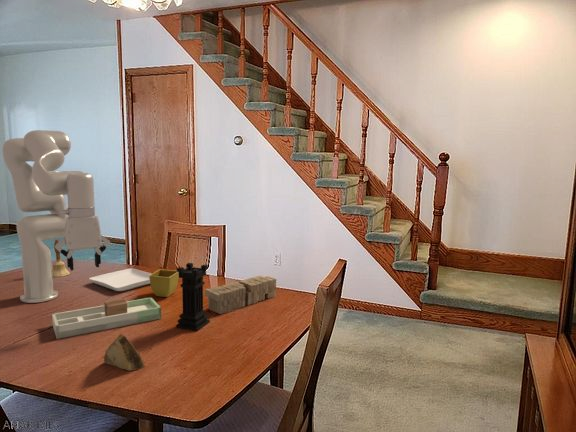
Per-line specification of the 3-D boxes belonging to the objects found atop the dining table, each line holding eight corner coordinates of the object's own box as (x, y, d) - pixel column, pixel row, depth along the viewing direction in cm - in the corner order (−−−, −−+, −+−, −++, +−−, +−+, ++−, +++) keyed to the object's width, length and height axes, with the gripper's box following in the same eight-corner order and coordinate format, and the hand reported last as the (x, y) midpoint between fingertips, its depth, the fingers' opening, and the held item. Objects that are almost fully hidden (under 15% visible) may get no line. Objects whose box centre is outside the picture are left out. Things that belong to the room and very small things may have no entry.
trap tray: (52, 325, 144) (51, 313, 143) (151, 307, 161) (151, 297, 160) (56, 339, 134) (56, 326, 133) (161, 318, 151) (161, 307, 151)
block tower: (262, 294, 182) (204, 310, 161) (263, 274, 181) (204, 287, 160) (276, 299, 176) (217, 316, 155) (276, 278, 175) (217, 292, 154)
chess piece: (209, 322, 149) (209, 264, 146) (197, 331, 142) (196, 271, 139) (189, 318, 152) (188, 262, 149) (176, 327, 145) (174, 268, 141)
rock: (91, 356, 119) (103, 366, 111) (109, 327, 122) (121, 334, 114) (125, 370, 125) (139, 380, 117) (141, 341, 128) (155, 350, 120)
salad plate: (131, 274, 202) (131, 266, 202) (161, 283, 190) (161, 275, 189) (87, 285, 185) (87, 277, 185) (117, 296, 173) (117, 288, 172)
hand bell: (55, 278, 192) (53, 242, 190) (45, 275, 197) (43, 240, 194) (73, 274, 199) (71, 239, 196) (63, 270, 203) (61, 237, 201)
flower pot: (169, 299, 170) (169, 277, 168) (149, 297, 171) (148, 275, 170) (179, 292, 178) (179, 270, 177) (159, 290, 180) (159, 269, 178)
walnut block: (104, 313, 149) (104, 300, 149) (123, 310, 153) (122, 297, 152) (108, 319, 144) (107, 306, 144) (127, 316, 148) (127, 303, 147)
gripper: (51, 216, 130) (55, 274, 133) (113, 212, 140) (115, 267, 142) (49, 212, 136) (52, 268, 139) (108, 209, 146) (110, 261, 149)
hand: (84, 267), depth 141 cm, fingers open, 6 cm apart
